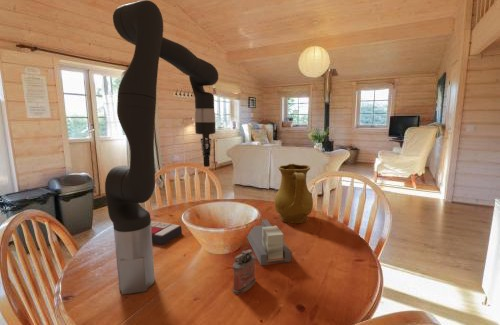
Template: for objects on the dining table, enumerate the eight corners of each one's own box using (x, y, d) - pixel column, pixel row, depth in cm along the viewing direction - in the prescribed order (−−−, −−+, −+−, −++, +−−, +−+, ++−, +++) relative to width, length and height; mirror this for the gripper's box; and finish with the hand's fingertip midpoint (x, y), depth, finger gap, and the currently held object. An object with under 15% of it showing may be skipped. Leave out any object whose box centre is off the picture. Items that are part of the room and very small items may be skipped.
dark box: (152, 220, 113) (181, 224, 107) (153, 229, 114) (182, 234, 108) (131, 230, 103) (162, 234, 97) (132, 240, 104) (163, 246, 98)
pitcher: (316, 213, 127) (316, 162, 122) (307, 230, 111) (306, 171, 106) (281, 209, 135) (280, 160, 130) (268, 225, 118) (266, 169, 113)
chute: (290, 261, 87) (291, 251, 86) (260, 265, 84) (260, 255, 84) (266, 227, 113) (266, 219, 113) (243, 229, 111) (243, 221, 111)
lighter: (249, 277, 78) (248, 244, 77) (258, 281, 76) (258, 248, 75) (229, 290, 72) (229, 256, 71) (239, 296, 70) (239, 260, 68)
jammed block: (282, 257, 86) (283, 234, 85) (267, 259, 85) (268, 235, 84) (276, 247, 93) (276, 225, 92) (262, 249, 92) (262, 227, 91)
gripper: (216, 121, 96) (218, 169, 99) (213, 120, 109) (214, 163, 112) (195, 121, 95) (197, 170, 98) (194, 121, 107) (196, 163, 110)
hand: (206, 166), depth 105 cm, fingers closed
